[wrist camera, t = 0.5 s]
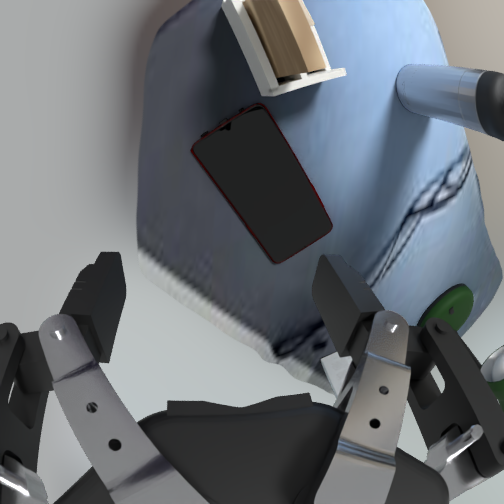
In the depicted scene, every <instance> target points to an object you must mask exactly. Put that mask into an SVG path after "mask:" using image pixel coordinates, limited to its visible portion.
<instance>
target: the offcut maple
mask: <svg viewBox="0 0 504 504" xmlns="http://www.w3.org/2000/svg"><path fill="white" fill-rule="evenodd" d="M298 1H299V3H300V5H301V7H302V9H303V11H304V14H305V16H306V18H307V20H308V23H309V25H310V27H311V26H313V25H315V23H314V21H313V20H312V18H311V16H310V14H309V12H308V10H307V9H306V7H305V5H304V3H303V2H302V0H298Z"/></svg>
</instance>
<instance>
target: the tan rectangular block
mask: <svg viewBox="0 0 504 504" xmlns="http://www.w3.org/2000/svg"><path fill="white" fill-rule="evenodd" d="M243 6H244V8H245V10H246V12H247V14H248V16H249V18H250V20H251V22H252V24H253V27H254V29H255V31H256V33H257V35H258V37H259V40H260V42H261V44H262V46H263V49H264V51H265V53H266V56H267V58H268V60H269V63H270V65H271V67H272V70H273V72H274V75H275V77H276V78H279V77H284V76H289V75H295V74H301V73H307V72H312V71H315V70H319V69H323V68H326V65H325V62H324V60H323V57H322V54H321V52H320V49H319V47H318V44H317V42H316V39H315V37H314V34H313V32H312V30H311V27H310V25H309V23H308V20H307V18H306V16H305V14H304V11H303V9H302V7H301V5H300V3H299V1H298V0H245V2H244V4H243Z"/></svg>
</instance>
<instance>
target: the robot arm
mask: <svg viewBox="0 0 504 504" xmlns="http://www.w3.org/2000/svg"><path fill="white" fill-rule="evenodd" d="M396 83H397V93H398V96H399V99H400V101H401V103H402V104H403V106H404V107H405V108H406V109H407V110H409V111H410V112H412V113H416V114H420V115H424V116H428V117H432V118H435V119H439V120H443V121H446V122H450V123H453V124H457V125H460V126H463V127H466V128H469V129H472V130H475V131H479V132H481V133H484V134H487V135H490V136H492V137H495V138H498V139H500V140H502V141H504V74H502V73H499V72H494V71H487V70H480V69H472V68H464V67H454V66H442V65H425V64H410V65H406V66H404V67H403V68H402V69H401V71H400V72H399V74H398V77H397V82H396ZM312 296H313V300H314V302H315V304H316V306H317V308H318V310H319V313H320V315H321V317H322V319H323V321H324V324H325V326H326V328H327V330H328V332H329V335H330V337H331V339H332V341H333V343H334V346H335V348H336V350H337V352H338V355H339V357H340V358H341V357H348V356H351V358H352V362H351V363H350V365H349V368H348V371H347V374H346V376H345V379H344V382H343V384H342V387H341V389H340V392H339V394H338V397H337V399H336V402H335V403H334V405H333V407H332V406H330V405H326V404H322V403H317V402H312V400H311V396H310V393H303V394H297V395H288V396H280V397H275V398H271V399H268V400H266V401H263V402H259V403H256V404H253V405H250V406H247V407H232V406H227V405H221V404H216V403H210V402H206V401H167V410H165V411H161V412H157V413H154V414H152V415H149V416H147V417H145V418H143V419H142V420H140V421H138V422H136V421H135V420H134V418H133V417H132V415H131V414H130V413H129V411H128V410H127V408H126V407H125V406H124V404H123V403H122V401H121V399H120V398H119V396H118V395H117V393H116V392H115V390H114V389H113V387H112V385H111V384H110V383H109V381H108V379H107V377H106V376H105V374H104V372H103V371H102V369H101V367H100V366H99V362H101V363H109V361H110V356H111V352H112V348H113V344H114V340H115V336H116V332H117V328H118V324H119V321H120V317H121V313H122V310H123V306H124V302H125V299H126V283H125V277H124V272H123V266H122V260H121V255H120V253H119V252H101V253H100V254H99V256H98V258H97V259H96V261H95V263H94V264H89V265H87V266H86V267H85V268H84V269H83V270H82V271H80V273H79V275H78V277H77V279H76V282H75V283H74V284H73V287H72V290H70V292H69V294H68V296H67V298H66V300H65V302H64V304H63V306H62V309H61V310H60V313H59V314H57V315H53V316H51V317H49V318H47V319H46V320H45V321H44V322H43V323H42V325H41V326H40V328H39V331H34V332H28V333H22V334H21V333H20V332H19V330H18V328H17V326H16V325H15V324H13V323H3V324H0V504H49V503H48V501H47V493H46V491H45V487H44V484H43V482H42V480H41V479H40V477H39V476H38V475H37V474H36V472H37V461H38V452H39V443H40V437H41V430H42V424H43V418H44V413H45V407H46V403H47V398H48V394H49V391H52V390H54V391H55V393H56V396H57V398H58V400H59V403H60V405H61V407H62V409H63V411H64V414H65V416H66V418H67V420H68V422H69V424H70V426H71V428H72V430H73V432H74V434H75V436H76V437H77V439H78V441H79V443H80V445H81V447H82V448H83V450H84V452H85V454H86V456H87V457H88V459H89V461H90V462H91V464H92V467H91V468H90V469H89V470H88V471H87V472H86V473H85V474H84V475H83V476H82V477H81V478H80V479H79V480H78V481H77V482H76V483H75V484H74V485H73V486H71V487H70V488H69V489H68V490H67V491H66V492H65V493H64V494H63V495H62V496H61V497H60V498H59V499H58V500H57V501H55V502H54V504H449V501H451V500H452V499H454V498H456V497H457V496H459V495H460V494H462V493H464V492H465V491H467V490H469V489H471V488H473V487H475V486H477V485H479V484H480V483H482V482H484V481H486V480H487V479H489V478H491V477H493V476H494V475H496V474H498V473H499V472H501V471H502V470H504V412H503V410H502V408H501V406H500V405H499V403H498V401H497V399H496V397H495V395H494V393H493V392H492V390H491V388H490V386H489V385H488V383H487V381H486V380H485V378H484V376H483V374H482V373H481V371H480V369H479V368H478V366H477V365H476V363H475V361H474V360H473V358H472V357H471V355H470V354H469V352H468V350H467V349H466V347H465V346H464V344H463V343H462V341H461V340H460V338H459V337H458V335H457V334H456V333H455V331H454V330H453V328H452V327H451V326H450V325H449V324H448V323H447V322H446V321H444V320H442V319H440V318H435V317H432V318H429V319H428V320H427V321H426V323H425V325H424V327H417V326H409V325H408V323H407V321H406V320H405V319H404V318H403V317H402V316H401V315H399V314H398V313H396V312H393V311H389V310H385V309H384V307H383V306H382V304H381V303H380V301H379V300H378V299H377V297H376V296H375V294H374V293H373V291H372V290H371V289H370V287H369V286H368V284H367V283H365V280H364V279H363V277H362V276H361V274H360V273H359V272H357V271H356V270H355V269H353V268H352V267H351V266H348V265H347V264H346V262H345V261H344V260H343V258H342V257H341V256H340V255H321V257H320V259H319V262H318V266H317V270H316V274H315V277H314V281H313V285H312ZM435 365H436V366H437V368H438V370H439V371H440V373H441V375H442V377H443V379H444V381H445V389H444V391H443V393H442V394H441V392H440V390H439V388H438V386H437V384H436V382H435V380H434V378H433V377H432V375H431V373H430V371H431V370H432V369H433V368H434V366H435ZM13 382H14V387H13V390H12V394H11V397H10V401H9V404H8V398H9V394H10V390H11V387H12V384H13ZM406 401H408V403H409V405H410V407H411V409H412V412H413V414H414V417H415V419H416V421H417V424H418V426H419V429H420V431H421V434H422V436H423V438H424V441H425V444H426V446H427V449H428V453H427V460H425V462H424V463H423V462H421V461H419V460H418V459H416V458H414V457H413V456H411V455H409V454H408V453H406V452H404V451H403V450H401V449H400V448H398V447H397V443H398V439H399V435H400V431H401V426H402V421H403V417H404V412H405V406H406Z"/></svg>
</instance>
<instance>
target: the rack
mask: <svg viewBox="0 0 504 504" xmlns="http://www.w3.org/2000/svg"><path fill="white" fill-rule="evenodd" d="M244 2H245V0H223V3H222V6H221V7H222V9H223V11H224V13H225V15H226V17H227V19H228V21H229V23H230V26H231V28H232V30H233V32H234V34H235V36H236V38H237V41H238V43H239V45H240V47H241V49H242V52H243V54H244V56H245V58H246V61H247V63H248V65H249V67H250V70H251V72H252V74H253V77H254V79H255V81H256V84H257V86H258V89H259V91H260V93H261V96H277V95H280V94H283V93H286V92H289V91H292V90H295V89H298V88H301V87H305V86H308V85H311V84H315V83H318V82H322V81H326V80H329V79H333V78H337V77H341V76H345V75H347V74H346V71H345V68H338V69H331V68H330V65H329V63H328V60H327V57H326V54H325V52H324V49H323V47H322V44H321V42H320V39H319V37H318V34H317V32H316V29H315V27H314V25H313V26H311V30H312V32H313V34H314V37H315V39H316V42H317V44H318V47H319V49H320V52H321V54H322V57H323V60H324V62H325V65H326V68H323V69H319V70H317V72H314V73H310V74H307V73H301V74H295V75H289V76H284V79H285V81H284V82H281V83H278V82H277V80H276V77H275V75H274V72H273V70H272V67H271V65H270V63H269V60H268V58H267V56H266V53H265V51H264V49H263V46H262V44H261V42H260V40H259V37H258V35H257V33H256V31H255V29H254V27H253V24H252V22H251V20H250V18H249V16H248V14H247V12H246V10H245V8H244V6H243V4H244ZM302 2H303V1H302Z"/></svg>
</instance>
